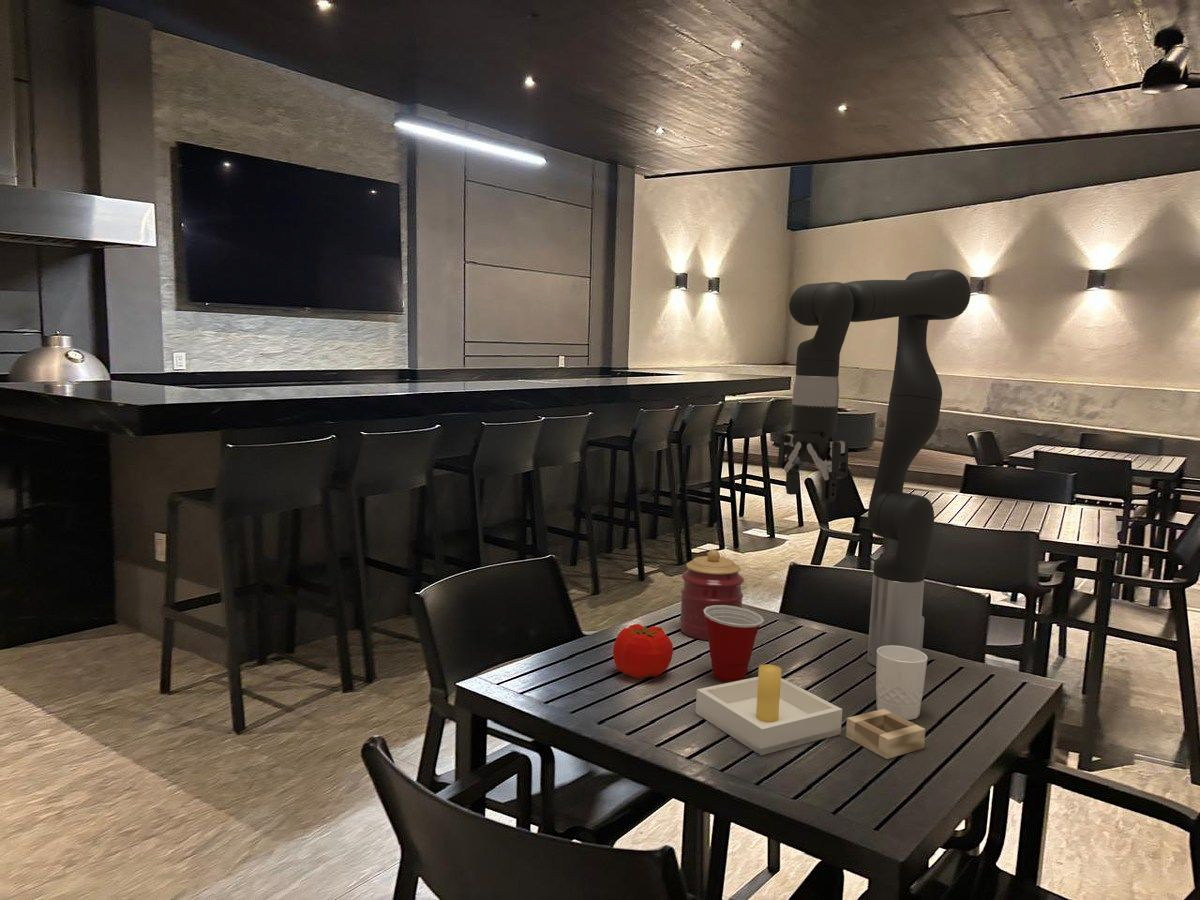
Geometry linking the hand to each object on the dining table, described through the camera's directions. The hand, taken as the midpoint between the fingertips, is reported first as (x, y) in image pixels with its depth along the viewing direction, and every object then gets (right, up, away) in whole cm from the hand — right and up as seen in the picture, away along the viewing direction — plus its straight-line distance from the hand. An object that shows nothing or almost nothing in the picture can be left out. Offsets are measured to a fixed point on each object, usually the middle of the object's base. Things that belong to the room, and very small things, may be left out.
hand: (809, 498), depth 141 cm
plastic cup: (-12, -33, +9) cm, 36 cm away
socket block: (+7, -36, -15) cm, 40 cm away
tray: (-9, -35, -10) cm, 38 cm away
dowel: (-9, -34, -10) cm, 37 cm away
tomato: (-28, -33, +9) cm, 44 cm away
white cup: (+14, -35, -4) cm, 38 cm away
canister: (-12, -30, +34) cm, 47 cm away
